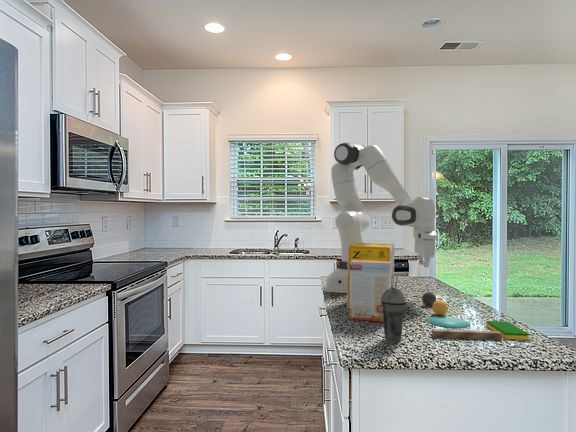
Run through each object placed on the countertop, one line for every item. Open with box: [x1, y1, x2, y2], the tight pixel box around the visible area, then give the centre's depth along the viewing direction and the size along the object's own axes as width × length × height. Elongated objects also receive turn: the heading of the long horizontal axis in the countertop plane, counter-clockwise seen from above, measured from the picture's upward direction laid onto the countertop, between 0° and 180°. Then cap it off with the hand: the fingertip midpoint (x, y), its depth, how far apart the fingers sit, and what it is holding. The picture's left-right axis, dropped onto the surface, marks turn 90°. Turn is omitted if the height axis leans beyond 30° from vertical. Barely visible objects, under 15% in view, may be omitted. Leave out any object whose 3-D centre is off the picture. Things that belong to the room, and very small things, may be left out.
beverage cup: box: [381, 273, 407, 344], centre depth 119 cm, size 7×7×20 cm
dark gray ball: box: [421, 291, 437, 307], centre depth 164 cm, size 6×6×6 cm
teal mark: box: [426, 316, 471, 329], centre depth 139 cm, size 14×14×1 cm
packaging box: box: [346, 242, 395, 309], centre depth 163 cm, size 16×16×25 cm
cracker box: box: [349, 260, 391, 323], centre depth 142 cm, size 14×6×21 cm, turn 71°
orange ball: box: [431, 299, 449, 316], centre depth 149 cm, size 6×6×6 cm
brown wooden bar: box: [431, 328, 503, 341], centre depth 122 cm, size 20×2×2 cm, turn 85°
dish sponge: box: [485, 320, 530, 341], centre depth 128 cm, size 7×14×2 cm, turn 176°
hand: (423, 265), depth 173 cm, fingers open, 7 cm apart
